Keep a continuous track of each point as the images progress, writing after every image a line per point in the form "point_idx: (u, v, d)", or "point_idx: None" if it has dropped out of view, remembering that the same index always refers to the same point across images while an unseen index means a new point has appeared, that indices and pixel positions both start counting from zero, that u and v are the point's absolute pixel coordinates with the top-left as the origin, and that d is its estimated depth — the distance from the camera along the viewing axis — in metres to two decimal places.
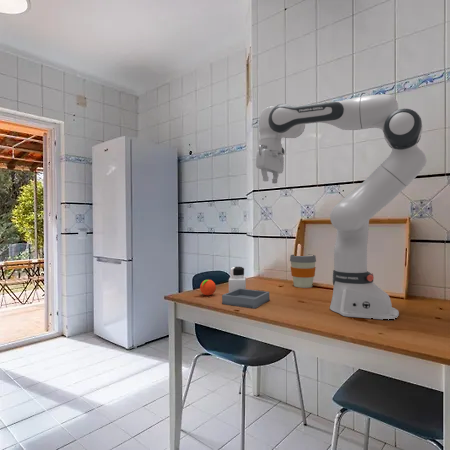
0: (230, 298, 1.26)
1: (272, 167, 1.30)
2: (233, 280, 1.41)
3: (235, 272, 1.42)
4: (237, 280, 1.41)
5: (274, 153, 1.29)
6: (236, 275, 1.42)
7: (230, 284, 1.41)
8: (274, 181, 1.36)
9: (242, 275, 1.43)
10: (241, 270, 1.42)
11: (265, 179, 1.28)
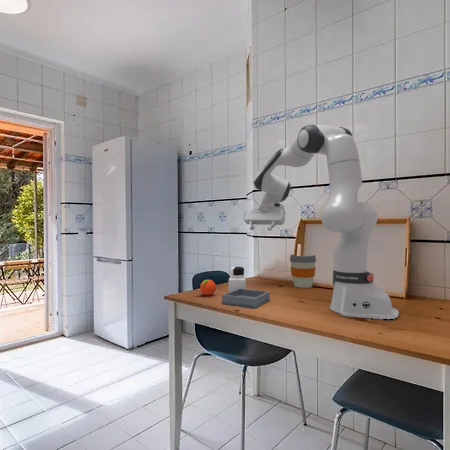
0: (230, 298, 1.26)
1: (258, 218, 1.59)
2: (233, 280, 1.41)
3: (235, 272, 1.42)
4: (237, 280, 1.41)
5: (261, 209, 1.62)
6: (236, 275, 1.42)
7: (230, 284, 1.41)
8: None
9: (242, 275, 1.43)
10: (241, 270, 1.42)
11: None
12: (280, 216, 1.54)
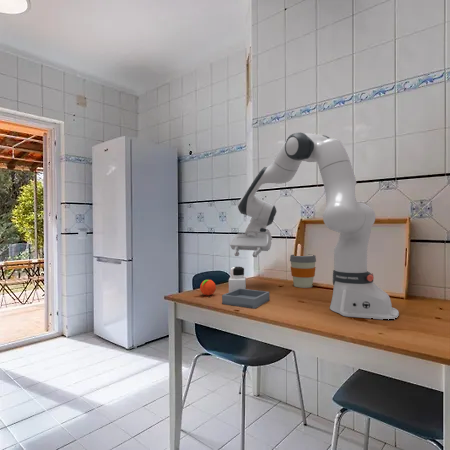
0: (230, 298, 1.26)
1: (243, 244, 1.54)
2: (233, 280, 1.41)
3: (235, 272, 1.42)
4: (237, 280, 1.41)
5: (247, 234, 1.57)
6: (236, 275, 1.42)
7: (230, 284, 1.41)
8: None
9: (242, 275, 1.43)
10: (241, 270, 1.42)
11: None
12: (265, 242, 1.49)
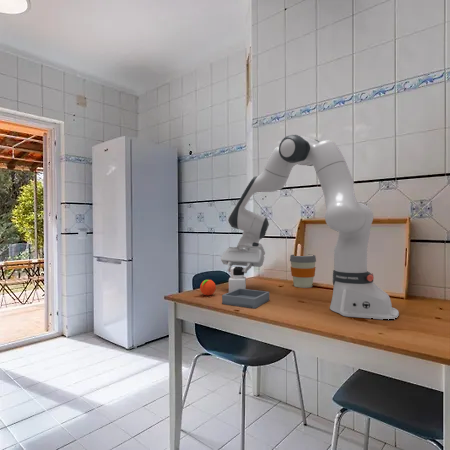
0: (230, 298, 1.26)
1: (235, 259, 1.47)
2: (233, 280, 1.41)
3: (235, 272, 1.42)
4: (237, 280, 1.41)
5: (239, 248, 1.50)
6: (236, 275, 1.42)
7: (230, 284, 1.41)
8: None
9: (242, 275, 1.43)
10: (241, 270, 1.42)
11: None
12: (258, 258, 1.42)
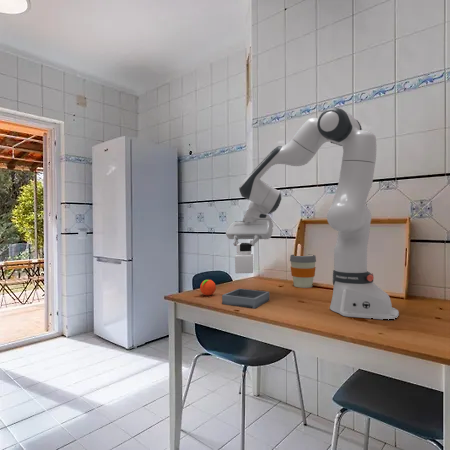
0: (230, 298, 1.26)
1: (241, 232, 1.37)
2: (240, 256, 1.31)
3: (242, 248, 1.31)
4: (244, 256, 1.30)
5: (245, 221, 1.39)
6: (243, 251, 1.31)
7: (237, 261, 1.31)
8: None
9: (249, 251, 1.32)
10: (248, 246, 1.32)
11: None
12: (266, 229, 1.32)
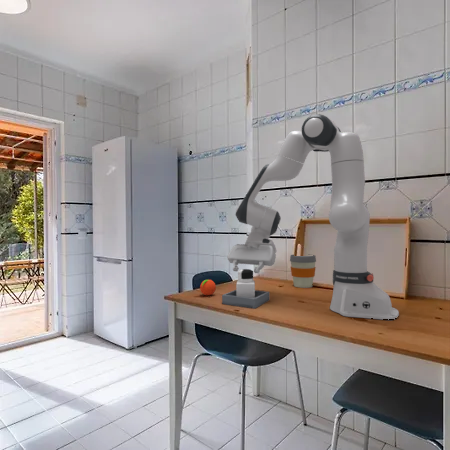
0: (230, 298, 1.26)
1: (243, 257, 1.33)
2: (241, 284, 1.27)
3: (244, 275, 1.27)
4: (246, 284, 1.26)
5: (248, 245, 1.35)
6: (245, 279, 1.27)
7: (238, 289, 1.27)
8: None
9: (251, 279, 1.28)
10: (250, 273, 1.27)
11: None
12: (269, 256, 1.28)
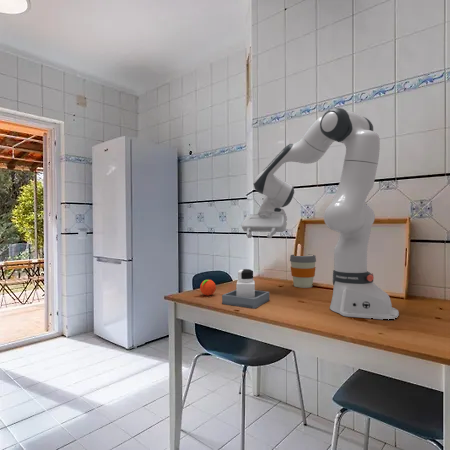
0: (230, 298, 1.26)
1: (257, 224, 1.44)
2: (241, 284, 1.27)
3: (244, 275, 1.27)
4: (246, 284, 1.26)
5: (260, 214, 1.46)
6: (245, 279, 1.27)
7: (238, 289, 1.27)
8: None
9: (251, 279, 1.28)
10: (250, 273, 1.27)
11: None
12: (281, 222, 1.39)
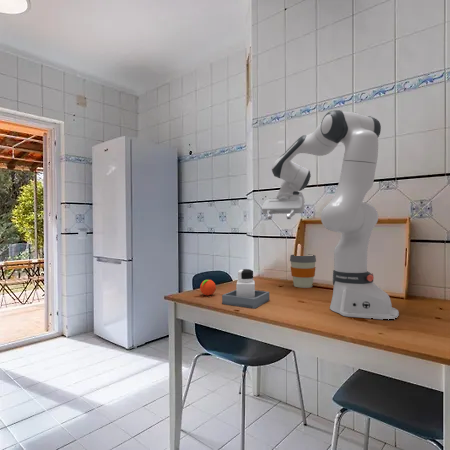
0: (230, 298, 1.26)
1: (276, 207, 1.53)
2: (241, 284, 1.27)
3: (244, 275, 1.27)
4: (246, 284, 1.26)
5: (279, 198, 1.55)
6: (245, 279, 1.27)
7: (238, 289, 1.27)
8: None
9: (251, 279, 1.28)
10: (250, 273, 1.27)
11: None
12: (300, 204, 1.48)
